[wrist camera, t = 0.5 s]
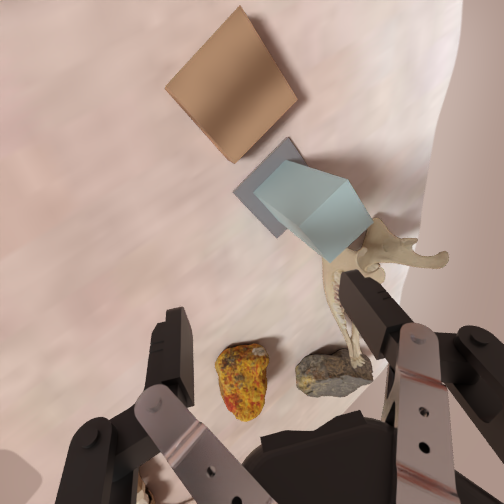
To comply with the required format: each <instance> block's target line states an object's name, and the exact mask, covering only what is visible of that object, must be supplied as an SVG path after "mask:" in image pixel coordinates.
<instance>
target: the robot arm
mask: <svg viewBox="0 0 504 504" xmlns="http://www.w3.org/2000/svg"><path fill="white" fill-rule="evenodd" d="M338 295H339V300H340V303H341V305H342V307H343V308H344V310H345V311H346V313H347V314H348V316H349V318H350V319H351V321H352V322H353V324H354V325H355V327H356V328H357V330H358V332H359V333H360V335H361V336H362V338H363V339H364V341H365V342H366V344H367V346H368V347H369V349H370V350H371V352H372V353H373V355H374V356H375V358H376V360H379V359H383V358H386V360H387V361H388V368H387V379H386V390H385V400H384V407H383V412H382V416H381V421H380V420H376V419H373V418H366V417H363V415H362V413H361V411H360V410H358V411H354V412H351V413H347V414H343V415H340V416H336V417H335V418H333V419H332V420H330V421H329V422H327V423H326V424H324V425H322V426H321V427H319V428H318V429H316V430H314V431H291V430H285V431H281V432H278V433H274V434H270V435H267V436H263V437H260V438H261V443H262V444H261V445H260V446H258V447H257V448H256V449H254V450H253V451H252V452H251V453H250V454H249V455H248V456H247V457H246V459H245V460H244V462H243V463H242V465H241V464H240V462H239V461H238V460H237V459H236V458H235V457H234V456H233V455H232V454H231V453H230V452H229V450H228V449H227V448H226V447H225V446H224V445H223V444H222V443H221V442H220V441H219V440H218V438H217V437H216V436H215V435H214V434H213V433H212V432H211V431H210V430H209V429H208V428H207V427H206V426H205V425H204V424H203V423H202V422H199V421H198V420H197V419H196V418H195V417H194V416H193V414H192V413H191V412H190V411H189V410H188V409H187V408H188V407H192V406H194V367H193V335H192V329H191V326H190V323H189V320H188V318H187V315H186V312H185V310H184V307H178V308H173V309H169V310H167V311H166V322H161V323H157V325H156V327H155V329H154V330H153V332H152V336H151V343H150V344H151V346H150V351H149V352H150V354H149V359H148V367H147V374H146V382H145V388H144V391H143V392H142V393H141V395H140V396H139V397H138V399H137V401H136V403H135V404H134V405H133V406H131V407H130V408H129V409H127V410H125V411H124V412H122V413H120V414H119V415H117V416H115V417H113V418H112V419H110V420H108V419H107V418H104V417H97V418H94V419H91V420H89V421H88V422H86V423H85V424H84V425H82V426H81V427H80V428H79V429H78V431H77V432H76V433H75V435H74V436H73V438H72V440H71V443H70V446H69V450H68V454H67V458H66V462H65V466H64V470H63V474H62V478H61V482H60V485H59V489H58V493H57V497H56V501H55V504H136V502H137V487H138V472H139V466H141V465H142V464H144V463H145V462H147V461H148V460H150V459H151V458H152V457H154V456H155V455H157V454H158V453H160V452H161V453H162V454H163V455H164V457H165V458H166V460H167V462H168V463H169V465H170V466H171V468H172V469H173V470H174V472H175V473H176V475H177V476H178V477H179V479H180V480H181V482H182V483H183V484H184V486H185V487H186V488H187V490H188V491H189V493H190V494H191V495H192V497H193V498H194V500H195V501H196V502H197V504H503V503H502V502H500V501H499V500H498V499H496V498H495V497H493V496H492V495H490V494H489V493H488V492H486V491H485V490H483V489H482V488H480V487H479V486H477V485H476V484H475V483H473V482H472V481H470V480H469V479H468V478H466V477H465V476H463V475H462V474H460V473H459V472H457V471H456V470H455V469H454V461H453V448H452V436H451V423H450V412H449V399H448V390H447V388H448V389H449V390H450V392H451V393H452V394H453V396H454V397H455V399H456V400H457V401H458V403H459V404H460V405H461V407H462V408H463V409H464V411H465V412H466V413H467V415H468V416H469V418H470V419H471V420H472V422H473V423H474V424H475V426H476V427H477V428H478V430H479V431H480V432H481V434H482V435H483V437H484V438H485V439H486V441H487V442H488V443H489V445H490V446H491V447H492V449H493V450H494V451H495V453H496V454H497V455H498V457H499V458H500V460H501V461H502V462H503V464H504V344H503V343H501V342H500V341H499V340H498V339H497V338H496V337H495V336H494V335H493V334H492V333H490V332H489V331H487V330H485V329H483V328H480V327H477V326H463V327H461V328H460V329H459V331H458V333H457V334H455V333H438V332H433V331H432V330H431V329H430V328H428V327H426V326H424V325H422V324H419V323H414V322H413V321H412V320H411V318H410V317H409V316H408V315H407V314H406V313H405V312H404V310H403V309H402V308H401V307H400V306H399V305H398V304H397V303H396V301H395V300H394V299H393V298H391V296H390V295H389V293H388V292H386V290H385V289H384V288H383V287H382V285H381V284H380V283H379V282H377V281H375V280H374V279H372V278H370V277H366V278H365V277H364V276H363V275H362V274H361V272H360V271H359V270H357V269H355V270H350V271H345V272H342V273H341V277H340V285H339V293H338ZM441 382H443V383H445V385H444V384H442V383H441ZM446 386H447V387H446Z"/></svg>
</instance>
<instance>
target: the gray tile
mask: <svg viewBox="0 0 504 504" xmlns="http://www.w3.org/2000/svg"><path fill="white" fill-rule="evenodd" d="M285 160H288V161H291V162H295V163H298V164H301V165H304V166H307V167H308V165H307V164H306V162H305V161H304V159H303V158H302V157H301V155H300V154H299V152H298V151H297V149H296V148H295V146H294V145H293V144H292V142H291V141H290V139H289V138H288V137H286V138H285V139H284V140H283V141H282V142H281V143H280V144H279V145H278V146H277V147H276V148H275V149H274V150H273V151H272V152H271V153H270V154H269V155H268V157H267V158H266V159H265V160H264V161H263V162H262V163H261V164H260V165H259V166H258V167H257V168H256V169H255V170H254V171H253V172H252V173H251V174H250V175H249V176H248V177H247V178H246V179H245V180H244V181H243V182H242V183H241V184H240V185H239V186H238V187H237V188H236V189H235V190H234V191H233V193H234V194H235V195H236V196H237V197H238V198H239V199H240V201H241V202H242V203H243V204H244V205H245V206H246V207H247V208H248V209H249V210H250V211H251V212H252V213H253V214H254V215H255V216H256V217H257V218H258V219H259V220H260V221H261V223H262V224H263V225H264V226H265V227H266V228H267V229H268V230H269V231H270V232H271V233H272V234H273V235H274V236H275V237H276V238H278V237H279V236H280V235H281V234H282V233H283V232H284V231H285V230H286V229H287V228H286V227H285V226H284V225H283V224H281V223H280V222H279V221H278V220H277V219H276V218H275V217H274V215H273V214H272V213H271V212H270V211H269V210H268V209H267V208H266V206H265V205H264V204H263V203H262V202H261V201H260V200H259V199H258V198H257V196H256V195H255V194H254V193H253V192H254V191H255V190H256V189H257V188H258V187H259V186H260V185H261V184H262V183H263V182H264V181H265V180H266V179H267V178H268V177H269V176H270V175H271V174H272V173H273V172H274V171H275V170H276V169H277V168H278V167H279V166H280V165H281V164H282V163H283V162H284V161H285Z"/></svg>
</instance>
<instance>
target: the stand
mask: <svg viewBox="0 0 504 504" xmlns="http://www.w3.org/2000/svg"><path fill="white" fill-rule="evenodd" d="M165 90H166V91H167V92H168V93H169V94H170V95H171V96H172V98H173V99H174V100H175V101H176V102H177V103H178V104H179V105H180V107H181V108H182V109H183V110H184V111H185V112H186V113H187V114H188V116H189V117H190V118H191V119H192V120H193V121H194V122H195V124H196V125H197V126H198V127H199V128H200V129H201V130H202V131H203V133H204V134H205V135H206V136H207V137H208V138H209V139H210V140H211V142H212V143H213V144H214V145H215V146H216V147H217V148H218V149H219V151H220V152H221V153H222V154H223V155H224V156H225V157H226V158H227V160H229V161H230V162H232V163H234V164H235V163H236V162H237V161H238V160H239V159H240V158H241V157H242V156H243V155H244V154H245V153H246V152H247V151H248V150H249V149H250V148H251V147H252V146H253V145H254V144H255V143H256V142H257V141H258V140H259V139H260V138H261V137H262V136H263V135H264V134H265V133H266V132H267V131H268V130H269V129H270V128H271V127H272V126H273V124H274V123H275V122H276V121H277V120H278V119H279V118H280V117H281V116H282V115H283V114H284V113H285V112H286V111H287V110H288V109H289V108H290V107H291V106H292V105H293V104H294V103H295V102H296V101H297V100H298V99H297V97H296V96H295V94H294V92H293V91H292V89H291V87H290V86H289V84H288V82H287V81H286V79H285V78H284V76H283V74H282V73H281V71H280V69H279V68H278V66H277V64H276V63H275V61H274V60H273V58H272V56H271V55H270V53H269V51H268V50H267V48H266V46H265V45H264V43H263V42H262V40H261V38H260V37H259V35H258V33H257V32H256V30H255V28H254V27H253V25H252V24H251V22H250V20H249V19H248V17H247V15H246V14H245V12H244V10H243V9H242V7H241V6H239V7H238V8H237V9H236V10H235V11H234V12H233V13H232V14H231V16H230V17H229V18H228V19H227V20H226V21H225V22H224V23H223V24H222V25H221V26H220V28H219V29H218V30H217V31H216V32H215V33H214V34H213V35H212V36H211V37H210V38H209V39H208V41H207V42H206V43H205V44H204V45H203V46H202V47H201V48H200V49H199V50H198V51H197V53H196V54H195V55H194V56H193V57H192V58H191V59H190V60H189V61H188V62H187V63H186V64H185V66H184V67H183V68H182V69H181V70H180V71H179V72H178V73H177V74H176V75H175V76H174V78H173V79H172V80H171V81H170V82H169V83H168V84H167V85H166V87H165Z"/></svg>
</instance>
